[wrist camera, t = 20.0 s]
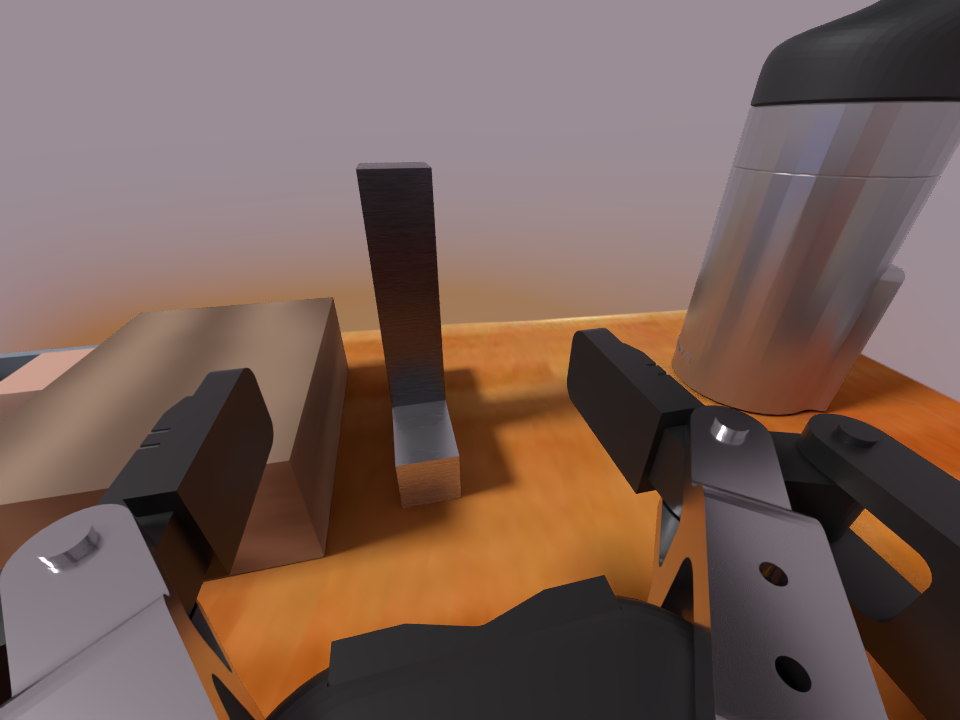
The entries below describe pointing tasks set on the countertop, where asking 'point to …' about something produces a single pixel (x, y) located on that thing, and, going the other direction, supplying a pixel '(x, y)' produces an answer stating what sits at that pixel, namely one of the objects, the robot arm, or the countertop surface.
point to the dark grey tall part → (410, 326)
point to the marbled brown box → (163, 383)
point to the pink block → (35, 378)
